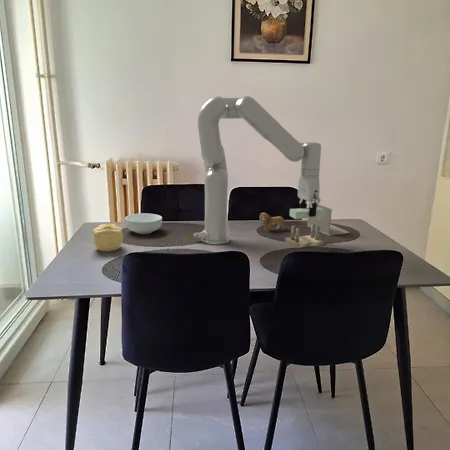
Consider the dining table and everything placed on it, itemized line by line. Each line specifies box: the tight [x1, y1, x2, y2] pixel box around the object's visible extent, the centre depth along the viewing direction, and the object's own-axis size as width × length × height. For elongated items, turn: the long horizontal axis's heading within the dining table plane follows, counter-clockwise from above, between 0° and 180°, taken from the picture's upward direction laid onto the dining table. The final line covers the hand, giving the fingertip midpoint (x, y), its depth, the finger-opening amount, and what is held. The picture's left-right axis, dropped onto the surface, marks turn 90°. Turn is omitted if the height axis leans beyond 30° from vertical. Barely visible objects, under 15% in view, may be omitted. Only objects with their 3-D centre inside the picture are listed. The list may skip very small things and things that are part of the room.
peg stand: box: [284, 224, 326, 249], centre depth 172 cm, size 14×10×8 cm
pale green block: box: [289, 207, 326, 220], centre depth 170 cm, size 14×6×3 cm, turn 105°
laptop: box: [306, 201, 351, 237], centre depth 194 cm, size 18×12×13 cm
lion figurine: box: [259, 212, 287, 232], centre depth 191 cm, size 15×5×9 cm, turn 111°
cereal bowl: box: [124, 212, 163, 235], centre depth 184 cm, size 17×17×7 cm
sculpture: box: [92, 223, 124, 253], centre depth 158 cm, size 12×12×11 cm
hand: (307, 214), depth 170 cm, fingers closed on pale green block, 6 cm apart
